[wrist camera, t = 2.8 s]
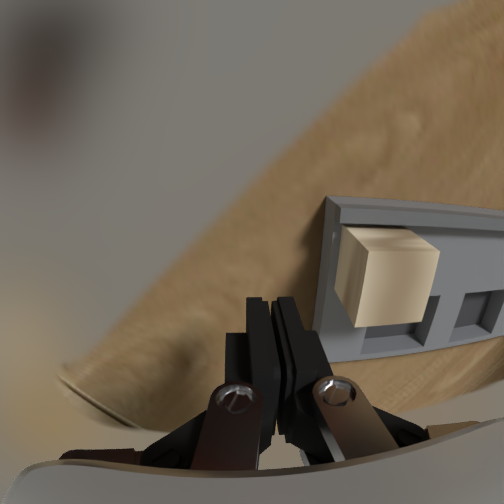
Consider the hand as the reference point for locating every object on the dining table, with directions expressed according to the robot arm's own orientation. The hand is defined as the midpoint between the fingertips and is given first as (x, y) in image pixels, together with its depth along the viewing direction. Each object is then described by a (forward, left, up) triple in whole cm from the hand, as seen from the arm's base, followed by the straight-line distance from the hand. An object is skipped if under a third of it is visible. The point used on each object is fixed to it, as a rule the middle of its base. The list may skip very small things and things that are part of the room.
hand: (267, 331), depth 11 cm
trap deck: (-17, +2, -9) cm, 19 cm away
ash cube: (-7, 0, -7) cm, 9 cm away
